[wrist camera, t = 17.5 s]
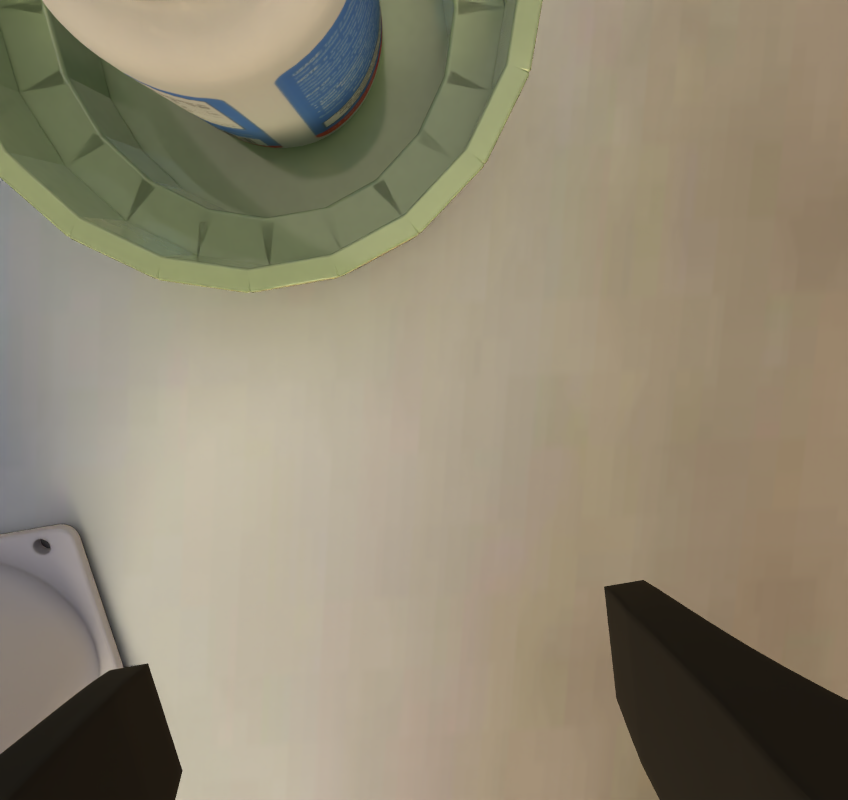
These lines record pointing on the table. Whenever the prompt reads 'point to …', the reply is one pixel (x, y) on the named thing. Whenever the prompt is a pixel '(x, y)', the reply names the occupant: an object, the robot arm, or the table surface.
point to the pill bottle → (241, 59)
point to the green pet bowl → (258, 150)
